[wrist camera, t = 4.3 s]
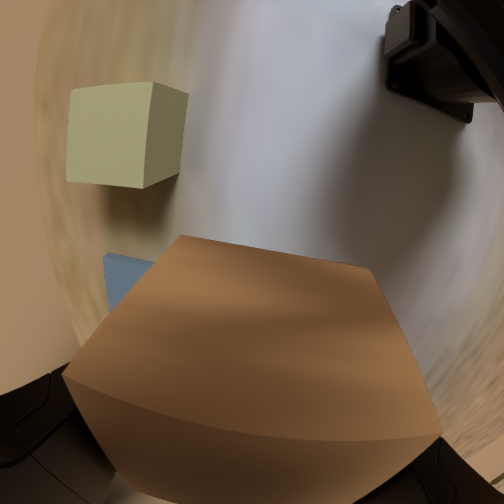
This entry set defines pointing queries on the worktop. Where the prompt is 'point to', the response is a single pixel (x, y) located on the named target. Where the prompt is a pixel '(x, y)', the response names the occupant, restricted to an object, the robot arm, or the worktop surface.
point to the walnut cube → (253, 380)
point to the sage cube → (125, 134)
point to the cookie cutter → (497, 479)
